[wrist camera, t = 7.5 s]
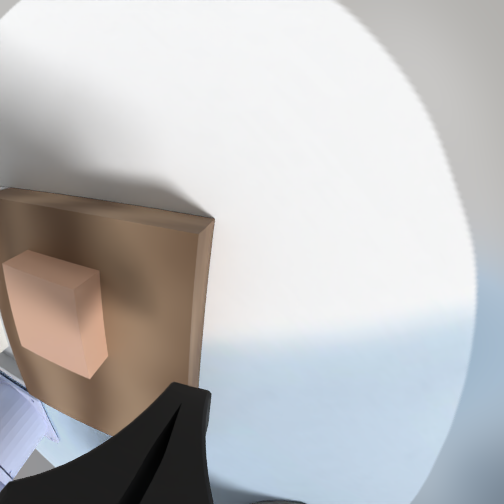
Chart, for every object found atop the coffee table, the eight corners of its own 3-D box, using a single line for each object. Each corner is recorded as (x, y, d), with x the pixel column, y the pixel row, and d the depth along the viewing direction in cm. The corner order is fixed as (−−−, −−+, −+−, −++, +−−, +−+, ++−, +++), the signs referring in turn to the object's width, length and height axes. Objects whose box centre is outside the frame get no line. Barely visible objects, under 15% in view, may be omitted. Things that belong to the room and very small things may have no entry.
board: (44, 376, 20) (28, 393, 18) (10, 187, 15) (-18, 195, 12) (195, 435, 19) (186, 461, 17) (214, 218, 14) (198, 234, 11)
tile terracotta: (41, 328, 14) (21, 345, 13) (27, 249, 13) (2, 263, 11) (108, 355, 14) (89, 379, 12) (99, 270, 12) (73, 289, 11)
